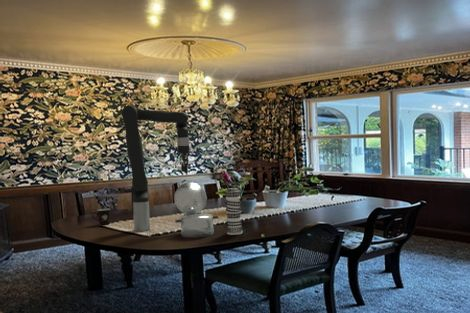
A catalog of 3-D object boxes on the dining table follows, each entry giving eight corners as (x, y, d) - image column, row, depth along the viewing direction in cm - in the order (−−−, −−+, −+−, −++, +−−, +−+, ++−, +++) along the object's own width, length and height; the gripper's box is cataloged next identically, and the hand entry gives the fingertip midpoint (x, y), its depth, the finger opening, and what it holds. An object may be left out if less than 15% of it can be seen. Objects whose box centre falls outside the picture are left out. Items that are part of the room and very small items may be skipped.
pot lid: (172, 183, 256) (172, 184, 259) (176, 217, 250) (176, 218, 253) (204, 181, 262) (203, 182, 265) (208, 214, 256) (207, 215, 259)
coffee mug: (113, 223, 294) (112, 208, 293) (108, 225, 285) (107, 210, 285) (97, 223, 295) (96, 208, 295) (91, 226, 286) (90, 211, 286)
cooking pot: (179, 239, 233) (178, 220, 232) (173, 233, 250) (172, 216, 249) (222, 234, 240) (221, 216, 240) (213, 228, 257) (212, 212, 257)
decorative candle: (233, 230, 249) (231, 187, 248) (246, 232, 243) (244, 187, 242) (223, 233, 242) (220, 188, 241) (235, 235, 236) (233, 189, 235)
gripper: (175, 145, 275) (176, 171, 275) (179, 145, 261) (180, 172, 262) (186, 145, 277) (187, 171, 278) (191, 144, 263) (193, 172, 264)
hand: (184, 171), depth 270 cm, fingers open, 7 cm apart
